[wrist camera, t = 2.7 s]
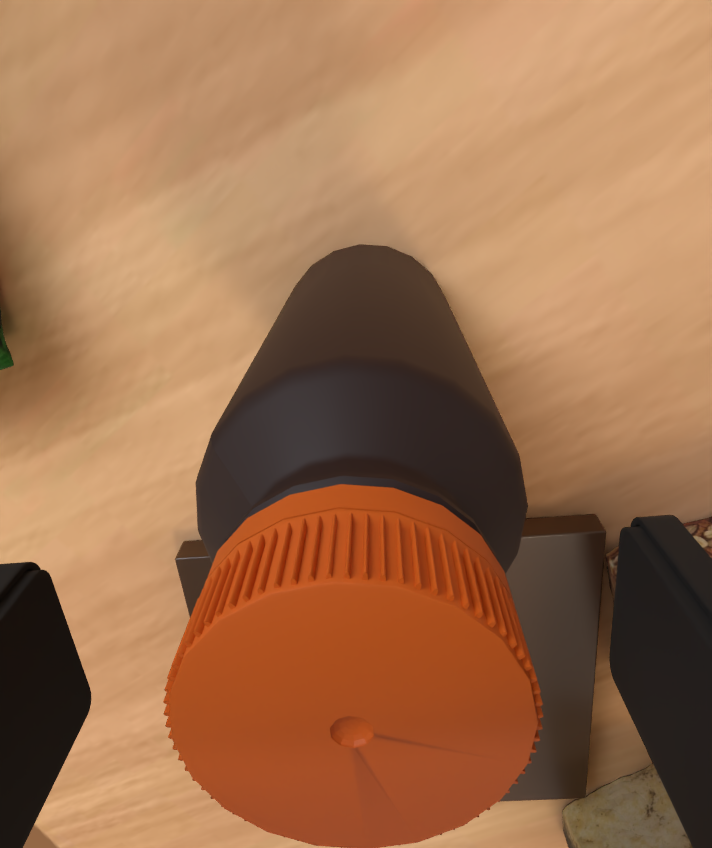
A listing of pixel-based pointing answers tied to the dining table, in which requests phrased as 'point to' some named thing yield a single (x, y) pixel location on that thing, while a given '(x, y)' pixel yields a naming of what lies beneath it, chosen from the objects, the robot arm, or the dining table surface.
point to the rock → (625, 816)
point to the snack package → (4, 351)
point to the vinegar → (358, 574)
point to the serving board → (531, 640)
